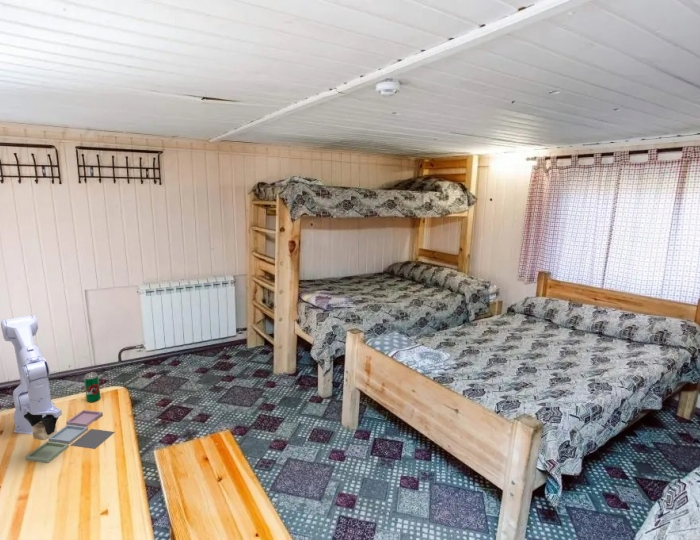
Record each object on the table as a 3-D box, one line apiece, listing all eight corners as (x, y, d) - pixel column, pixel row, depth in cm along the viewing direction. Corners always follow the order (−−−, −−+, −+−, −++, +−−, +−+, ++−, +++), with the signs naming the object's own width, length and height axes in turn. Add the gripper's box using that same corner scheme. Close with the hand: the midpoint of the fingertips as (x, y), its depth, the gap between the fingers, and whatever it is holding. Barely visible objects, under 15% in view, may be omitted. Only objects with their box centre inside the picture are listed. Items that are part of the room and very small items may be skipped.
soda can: (103, 397, 174) (100, 372, 172) (94, 403, 169) (92, 377, 167) (92, 396, 175) (89, 371, 172) (83, 402, 170) (81, 376, 167)
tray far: (66, 425, 154) (66, 421, 154) (83, 413, 162) (83, 409, 162) (86, 427, 153) (86, 424, 152) (102, 415, 161) (102, 412, 161)
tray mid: (48, 442, 144) (48, 438, 144) (68, 428, 152) (67, 424, 152) (69, 444, 143) (69, 441, 143) (88, 430, 151) (87, 427, 151)
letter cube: (33, 438, 134) (31, 426, 133) (45, 430, 139) (43, 419, 138) (45, 440, 134) (43, 428, 133) (56, 432, 138) (55, 420, 137)
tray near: (25, 460, 134) (25, 457, 134) (47, 445, 142) (47, 441, 142) (48, 464, 133) (47, 460, 133) (68, 447, 141) (68, 444, 141)
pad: (70, 446, 142) (69, 445, 142) (91, 429, 152) (91, 428, 152) (95, 449, 141) (95, 448, 141) (115, 432, 151) (115, 431, 150)
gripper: (68, 393, 135) (72, 428, 138) (34, 387, 138) (39, 421, 141) (48, 404, 128) (53, 440, 131) (13, 397, 132) (18, 433, 134)
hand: (44, 431), depth 136 cm, fingers closed on letter cube, 5 cm apart
